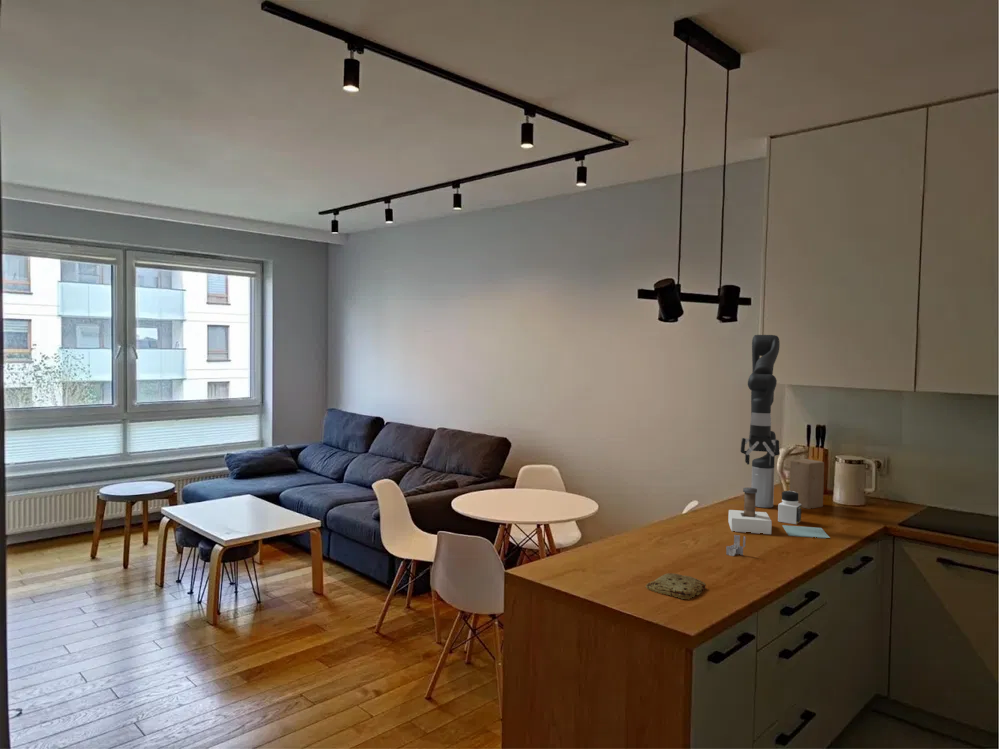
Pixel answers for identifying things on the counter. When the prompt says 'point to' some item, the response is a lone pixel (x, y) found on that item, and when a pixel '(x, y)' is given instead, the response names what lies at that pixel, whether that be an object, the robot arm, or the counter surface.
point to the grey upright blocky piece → (735, 546)
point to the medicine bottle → (789, 508)
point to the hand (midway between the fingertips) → (759, 464)
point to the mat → (805, 531)
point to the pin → (749, 501)
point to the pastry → (677, 585)
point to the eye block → (749, 522)
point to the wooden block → (807, 482)
